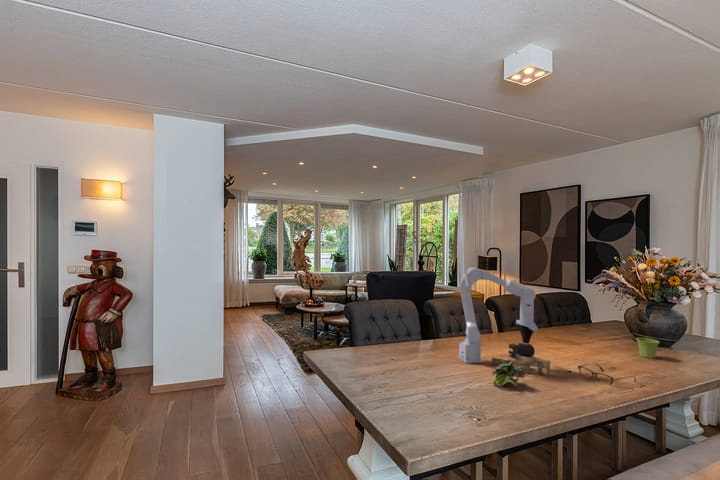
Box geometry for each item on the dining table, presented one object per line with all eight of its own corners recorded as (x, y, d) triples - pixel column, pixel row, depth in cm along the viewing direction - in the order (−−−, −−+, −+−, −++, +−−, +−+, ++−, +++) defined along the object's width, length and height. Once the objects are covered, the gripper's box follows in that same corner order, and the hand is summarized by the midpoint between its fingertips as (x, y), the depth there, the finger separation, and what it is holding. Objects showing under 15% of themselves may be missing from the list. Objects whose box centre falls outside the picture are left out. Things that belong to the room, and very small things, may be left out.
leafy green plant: (503, 395, 138) (515, 368, 142) (523, 401, 128) (535, 372, 132) (482, 379, 137) (494, 353, 141) (500, 385, 126) (513, 356, 130)
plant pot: (664, 360, 173) (664, 342, 174) (645, 359, 174) (645, 342, 174) (649, 354, 183) (649, 338, 183) (631, 353, 183) (631, 337, 183)
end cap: (518, 360, 166) (518, 346, 166) (507, 356, 172) (507, 342, 172) (534, 359, 168) (535, 345, 169) (523, 355, 175) (524, 341, 175)
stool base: (545, 382, 138) (545, 368, 138) (487, 370, 150) (487, 358, 150) (548, 367, 157) (548, 355, 157) (496, 357, 169) (496, 346, 169)
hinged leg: (515, 368, 153) (515, 355, 153) (515, 366, 155) (516, 353, 155) (549, 374, 146) (549, 361, 146) (549, 373, 148) (550, 359, 148)
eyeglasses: (575, 374, 150) (575, 364, 151) (600, 370, 156) (600, 361, 156) (614, 388, 135) (614, 378, 135) (640, 384, 141) (640, 374, 141)
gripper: (544, 316, 152) (543, 347, 152) (526, 310, 167) (525, 339, 166) (528, 316, 152) (528, 347, 152) (512, 310, 166) (511, 338, 166)
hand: (526, 343), depth 159 cm, fingers closed
